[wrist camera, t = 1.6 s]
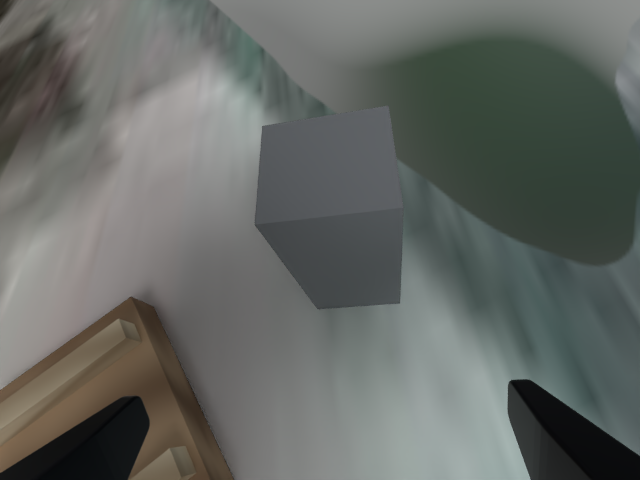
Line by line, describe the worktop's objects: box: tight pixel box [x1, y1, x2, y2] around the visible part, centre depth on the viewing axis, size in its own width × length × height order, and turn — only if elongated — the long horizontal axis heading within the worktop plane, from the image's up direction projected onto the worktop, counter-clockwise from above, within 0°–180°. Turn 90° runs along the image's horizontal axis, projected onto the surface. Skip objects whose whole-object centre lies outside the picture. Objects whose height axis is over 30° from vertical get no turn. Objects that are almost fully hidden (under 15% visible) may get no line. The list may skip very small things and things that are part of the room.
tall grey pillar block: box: [255, 106, 404, 309], centre depth 19 cm, size 5×6×12 cm
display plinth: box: [0, 297, 234, 480], centre depth 20 cm, size 14×12×4 cm
